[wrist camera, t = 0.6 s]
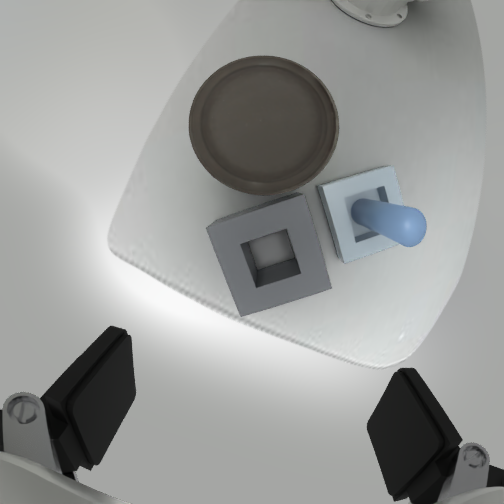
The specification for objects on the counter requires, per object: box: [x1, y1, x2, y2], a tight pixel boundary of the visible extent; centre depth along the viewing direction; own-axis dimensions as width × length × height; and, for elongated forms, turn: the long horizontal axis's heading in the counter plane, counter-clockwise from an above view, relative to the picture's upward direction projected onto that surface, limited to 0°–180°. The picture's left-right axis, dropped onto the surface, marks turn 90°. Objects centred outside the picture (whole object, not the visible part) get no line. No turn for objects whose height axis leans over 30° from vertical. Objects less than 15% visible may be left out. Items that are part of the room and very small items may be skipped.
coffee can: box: [189, 56, 339, 195], centre depth 24 cm, size 10×10×14 cm
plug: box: [351, 198, 426, 247], centre depth 26 cm, size 3×3×12 cm
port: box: [206, 193, 332, 317], centre depth 31 cm, size 10×10×6 cm
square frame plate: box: [317, 165, 404, 264], centre depth 31 cm, size 9×9×3 cm
